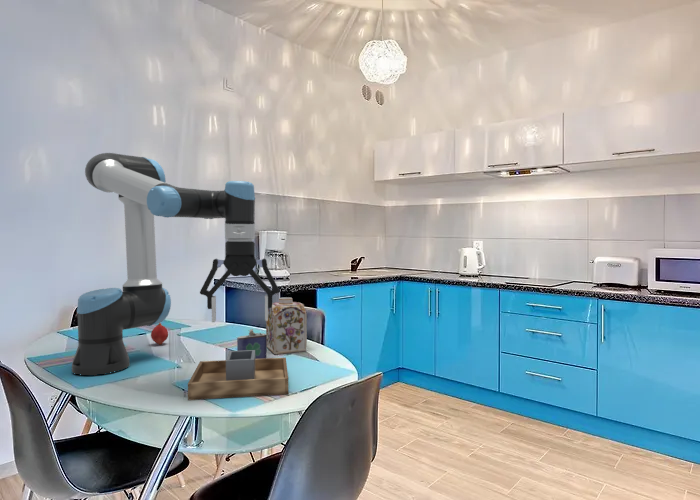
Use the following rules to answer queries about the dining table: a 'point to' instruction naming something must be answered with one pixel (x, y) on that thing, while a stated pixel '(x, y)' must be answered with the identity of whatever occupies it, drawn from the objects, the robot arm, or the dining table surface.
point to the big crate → (214, 385)
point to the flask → (253, 344)
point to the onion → (159, 334)
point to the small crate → (240, 365)
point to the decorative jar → (286, 327)
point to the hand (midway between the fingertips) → (240, 320)
